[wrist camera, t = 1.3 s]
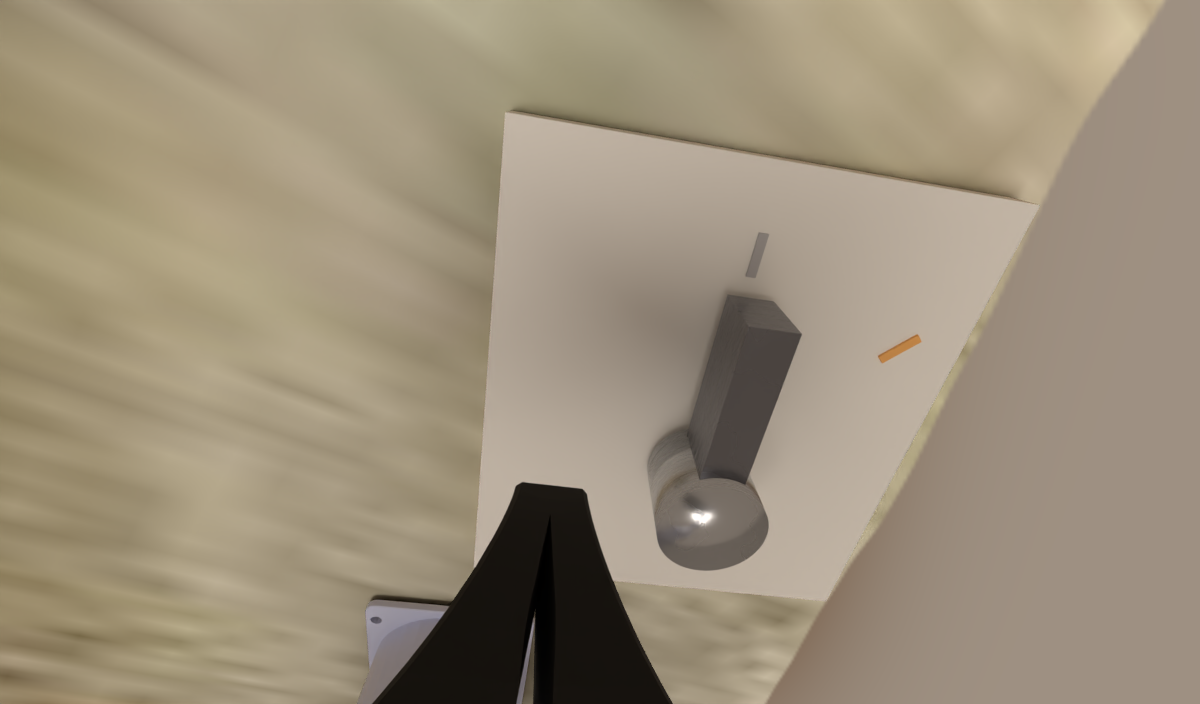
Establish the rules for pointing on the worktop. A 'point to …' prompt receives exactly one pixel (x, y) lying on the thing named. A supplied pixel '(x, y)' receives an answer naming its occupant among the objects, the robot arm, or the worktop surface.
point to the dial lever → (723, 442)
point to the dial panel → (690, 321)
